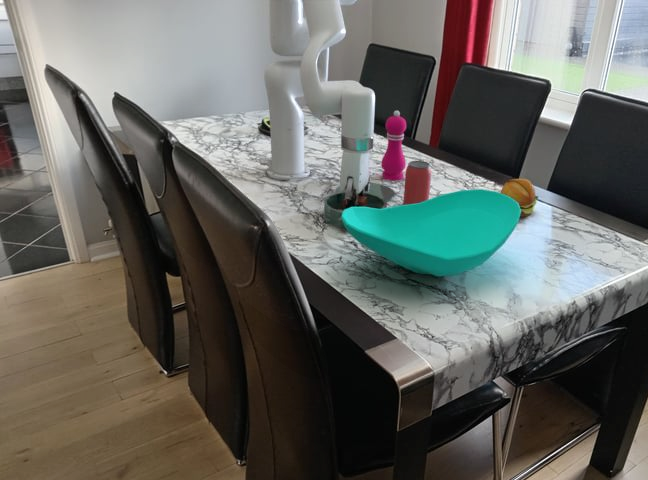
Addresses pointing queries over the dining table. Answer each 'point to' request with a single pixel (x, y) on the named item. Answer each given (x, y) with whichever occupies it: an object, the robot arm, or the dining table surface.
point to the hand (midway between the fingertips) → (354, 214)
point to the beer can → (417, 182)
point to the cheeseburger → (521, 194)
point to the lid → (376, 190)
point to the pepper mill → (394, 148)
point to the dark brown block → (361, 201)
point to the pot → (337, 202)
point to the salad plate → (265, 127)
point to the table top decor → (437, 230)
